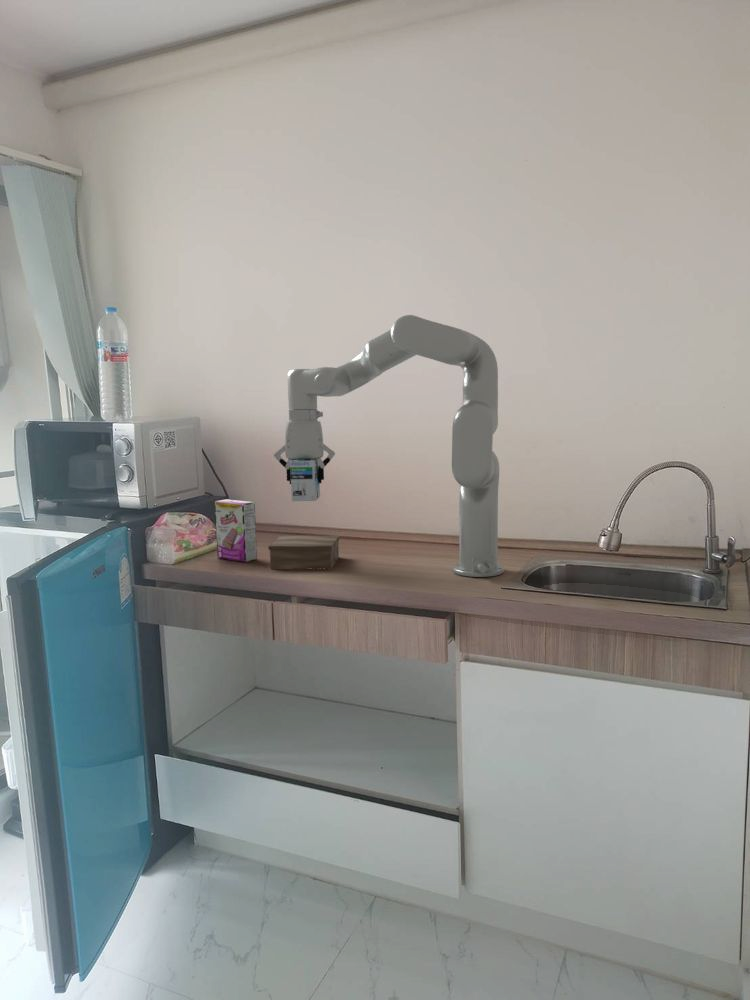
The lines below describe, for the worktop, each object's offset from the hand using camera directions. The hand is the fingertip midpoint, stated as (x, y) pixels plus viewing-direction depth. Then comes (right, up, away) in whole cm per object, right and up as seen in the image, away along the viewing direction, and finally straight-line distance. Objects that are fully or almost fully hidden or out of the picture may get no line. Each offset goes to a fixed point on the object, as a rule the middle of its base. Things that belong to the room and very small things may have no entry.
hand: (305, 482), depth 195 cm
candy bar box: (-20, -21, +9) cm, 31 cm away
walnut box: (0, -22, +3) cm, 22 cm away
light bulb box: (0, -5, +1) cm, 5 cm away
